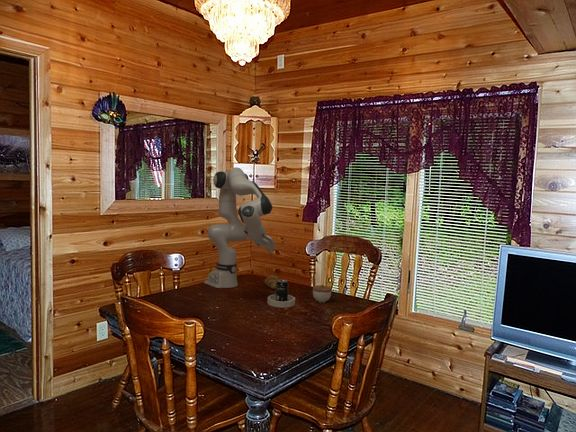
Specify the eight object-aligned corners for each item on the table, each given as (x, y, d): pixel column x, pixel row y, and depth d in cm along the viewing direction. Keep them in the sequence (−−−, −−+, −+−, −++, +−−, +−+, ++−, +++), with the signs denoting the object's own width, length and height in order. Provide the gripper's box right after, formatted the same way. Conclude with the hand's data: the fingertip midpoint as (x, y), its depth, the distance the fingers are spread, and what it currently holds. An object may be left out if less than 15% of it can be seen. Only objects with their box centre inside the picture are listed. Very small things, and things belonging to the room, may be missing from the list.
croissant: (277, 295, 259) (284, 284, 259) (263, 288, 258) (270, 277, 258) (275, 286, 280) (281, 275, 280) (262, 278, 279) (268, 268, 279)
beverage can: (281, 299, 236) (282, 278, 235) (290, 302, 231) (291, 281, 230) (272, 301, 232) (273, 280, 230) (281, 304, 227) (282, 282, 226)
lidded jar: (324, 305, 233) (325, 288, 232) (308, 300, 239) (309, 284, 238) (334, 301, 241) (335, 285, 240) (318, 297, 248) (319, 281, 247)
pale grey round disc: (262, 303, 231) (262, 298, 230) (278, 297, 243) (278, 292, 242) (284, 309, 222) (284, 303, 222) (300, 303, 234) (300, 297, 234)
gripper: (274, 234, 222) (281, 251, 231) (248, 222, 234) (256, 238, 243) (266, 242, 219) (273, 259, 228) (241, 229, 232) (249, 245, 241)
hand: (264, 248), depth 236 cm, fingers open, 8 cm apart
